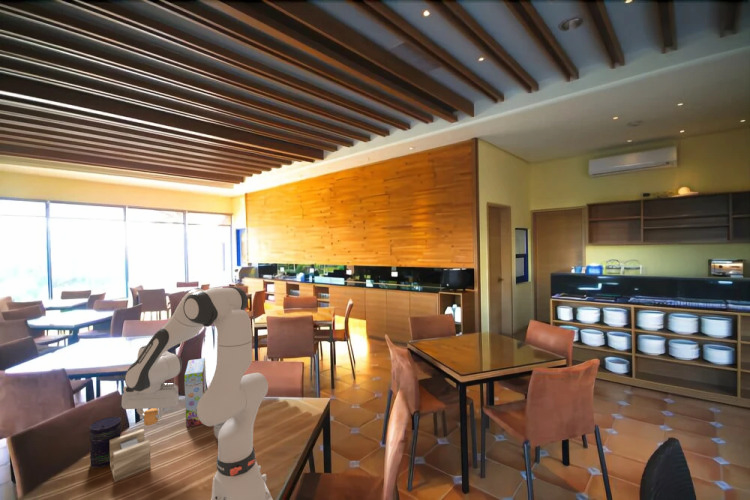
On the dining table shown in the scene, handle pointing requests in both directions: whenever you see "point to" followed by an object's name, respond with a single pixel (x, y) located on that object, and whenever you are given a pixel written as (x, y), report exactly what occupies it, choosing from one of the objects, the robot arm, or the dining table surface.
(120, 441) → the wooden napkin holder
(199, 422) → the snack box
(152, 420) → the brown egg
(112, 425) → the storage jar
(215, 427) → the teacup
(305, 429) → the dining table surface
